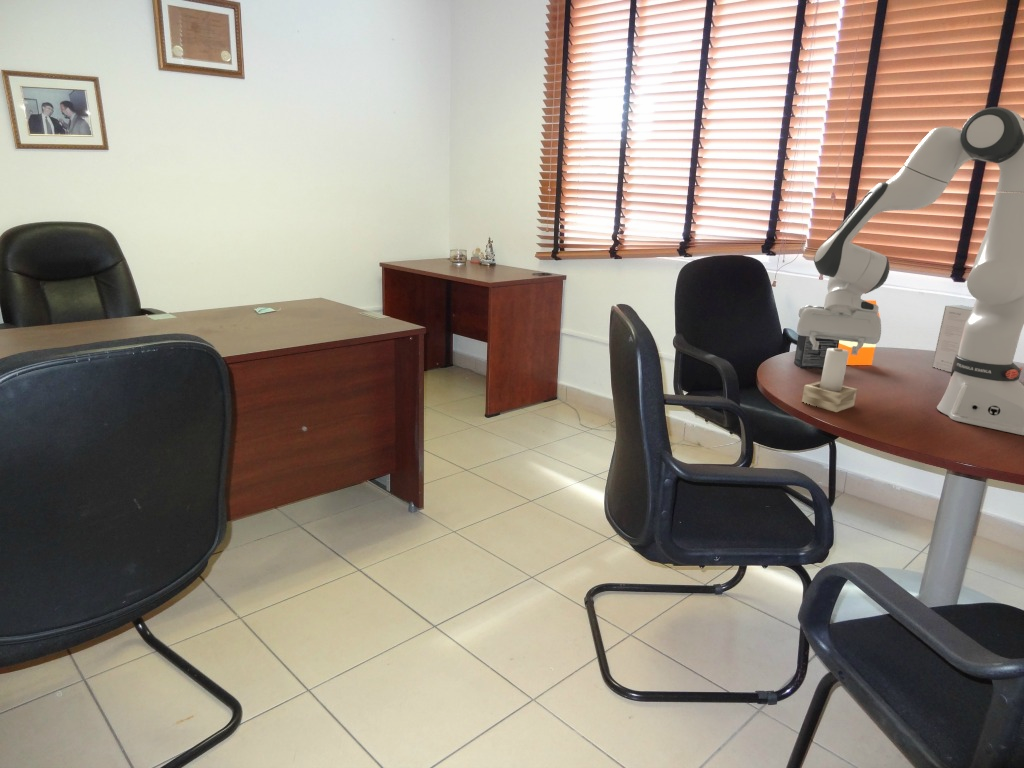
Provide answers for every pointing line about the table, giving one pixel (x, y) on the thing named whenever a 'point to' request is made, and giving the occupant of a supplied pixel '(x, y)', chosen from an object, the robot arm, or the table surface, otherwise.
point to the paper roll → (834, 369)
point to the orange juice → (864, 352)
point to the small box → (812, 352)
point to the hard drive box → (950, 335)
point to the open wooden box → (829, 397)
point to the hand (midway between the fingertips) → (834, 351)
